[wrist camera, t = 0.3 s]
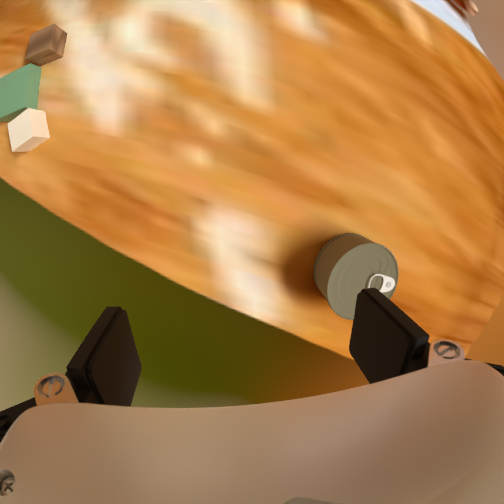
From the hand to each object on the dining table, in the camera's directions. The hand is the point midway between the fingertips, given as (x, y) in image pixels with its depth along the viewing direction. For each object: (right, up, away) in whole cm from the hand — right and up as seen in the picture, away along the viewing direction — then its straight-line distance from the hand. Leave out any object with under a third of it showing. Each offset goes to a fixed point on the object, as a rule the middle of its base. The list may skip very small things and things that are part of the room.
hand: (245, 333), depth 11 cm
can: (+16, +1, +34) cm, 38 cm away
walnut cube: (-33, +37, +17) cm, 53 cm away
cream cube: (-35, +23, +22) cm, 47 cm away
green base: (-39, +30, +19) cm, 53 cm away
